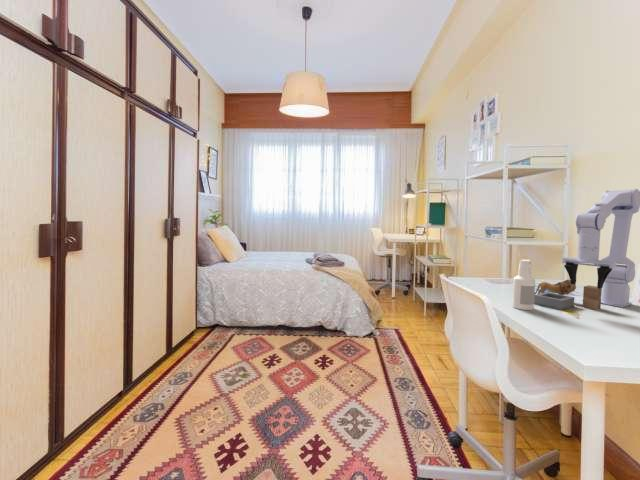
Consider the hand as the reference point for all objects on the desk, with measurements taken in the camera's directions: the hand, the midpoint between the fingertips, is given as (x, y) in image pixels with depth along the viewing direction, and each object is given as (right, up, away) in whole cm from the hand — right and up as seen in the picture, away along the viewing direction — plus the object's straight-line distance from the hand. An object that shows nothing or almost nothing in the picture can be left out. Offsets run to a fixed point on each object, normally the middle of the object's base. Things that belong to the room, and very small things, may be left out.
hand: (586, 285), depth 113 cm
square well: (-4, -9, +11) cm, 14 cm away
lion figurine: (+3, -9, +19) cm, 21 cm away
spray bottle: (-18, -9, +7) cm, 21 cm away
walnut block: (+8, -9, +7) cm, 14 cm away
